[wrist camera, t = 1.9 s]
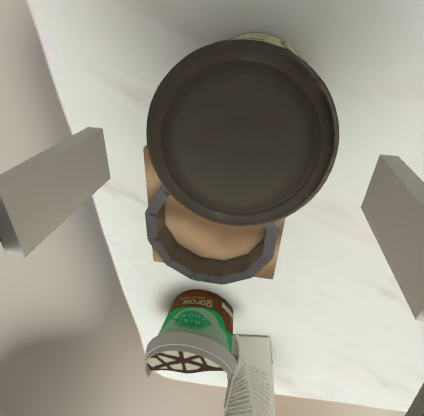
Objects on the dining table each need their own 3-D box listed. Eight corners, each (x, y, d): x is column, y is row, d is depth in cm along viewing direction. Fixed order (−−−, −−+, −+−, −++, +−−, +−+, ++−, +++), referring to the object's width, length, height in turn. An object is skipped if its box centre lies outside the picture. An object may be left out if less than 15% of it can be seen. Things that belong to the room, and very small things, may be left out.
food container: (232, 280, 41) (221, 346, 32) (242, 310, 43) (235, 379, 35) (153, 286, 44) (124, 348, 36) (167, 314, 47) (144, 377, 39)
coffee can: (231, 164, 32) (205, 247, 20) (178, 72, 28) (108, 108, 16) (327, 119, 28) (367, 190, 16) (282, 4, 24) (290, -16, 12)
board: (146, 146, 32) (143, 148, 32) (295, 161, 30) (296, 164, 30) (155, 257, 41) (153, 261, 40) (272, 275, 39) (272, 279, 38)
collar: (150, 156, 32) (140, 167, 29) (286, 171, 30) (287, 184, 28) (158, 257, 40) (151, 273, 37) (267, 273, 38) (266, 291, 35)
